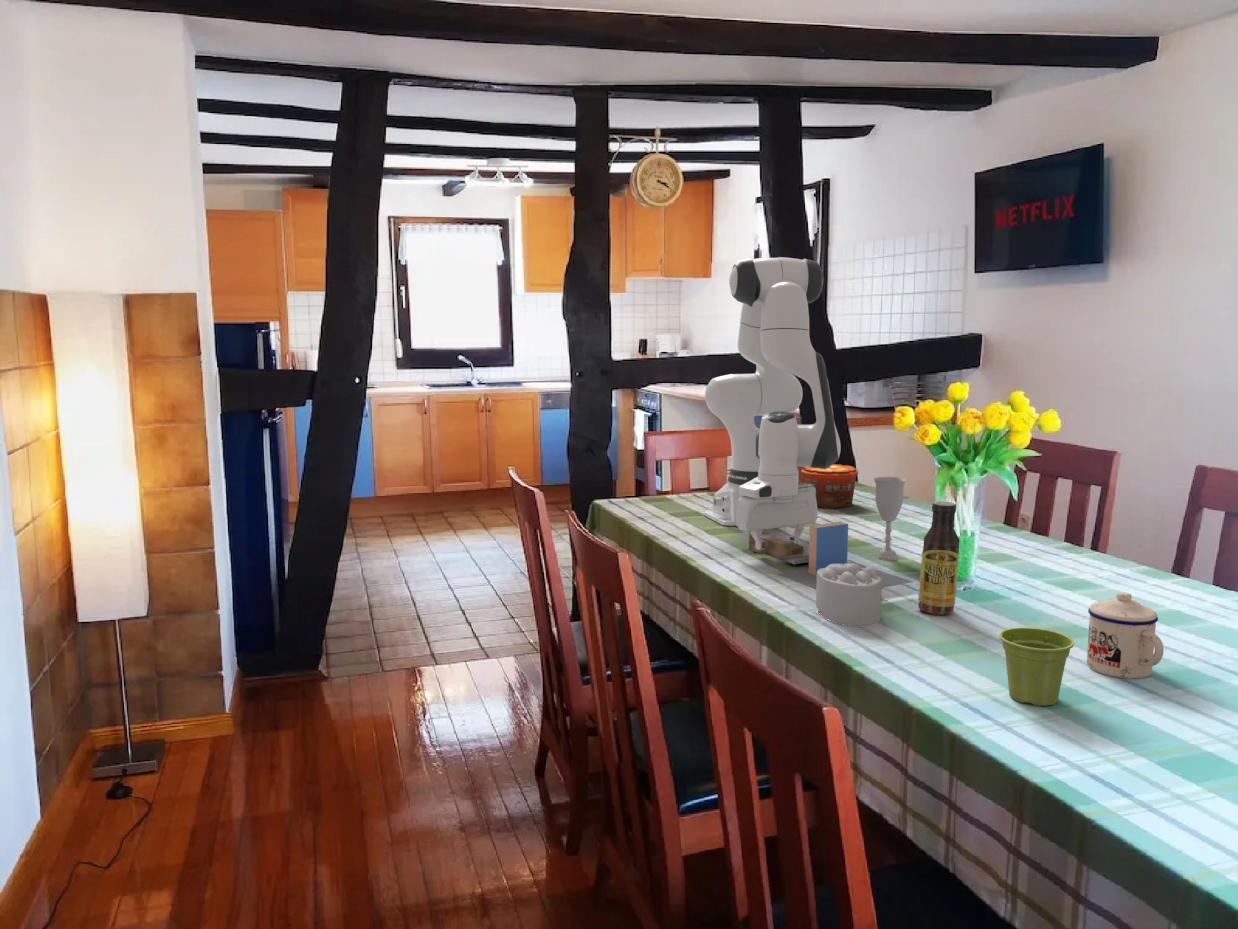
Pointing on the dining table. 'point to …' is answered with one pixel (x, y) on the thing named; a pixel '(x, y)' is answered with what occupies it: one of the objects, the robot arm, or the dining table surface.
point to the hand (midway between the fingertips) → (777, 546)
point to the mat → (811, 580)
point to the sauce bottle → (939, 562)
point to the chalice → (889, 508)
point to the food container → (832, 485)
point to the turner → (780, 549)
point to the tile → (827, 545)
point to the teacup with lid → (1123, 638)
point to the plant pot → (1035, 663)
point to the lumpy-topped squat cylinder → (849, 594)
